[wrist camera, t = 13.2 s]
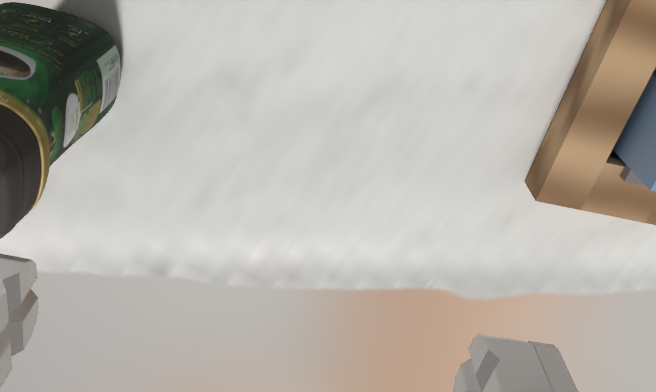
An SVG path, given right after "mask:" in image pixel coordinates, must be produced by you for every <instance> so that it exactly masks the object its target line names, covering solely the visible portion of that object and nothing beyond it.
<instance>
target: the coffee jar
mask: <svg viewBox="0 0 656 392" xmlns="http://www.w3.org/2000/svg"><path fill="white" fill-rule="evenodd" d="M120 76H121V61H120V54H119V51H118V48H117V46H116V44H115V42H114V41H113V39H112V38H111V37H110V36H109V35H108V34H107V33H106V32H105V31H104V30H103V29H101V28H100V27H98V26H96V25H94V24H92V23H90V22H87V21H85V20H83V19H80V18H77V17H75V16H72V15H69V14H66V13H63V12H59V11H56V10H52V9H49V8H45V7H41V6H36V5H30V4H25V3H16V2H10V3H3V4H0V239H1V238H2V237H4V236H5V235H6V234H7V233H9V232H10V231H11V230H12V229H13V228H14V227H15V225H16V224H17V223H18V222H19V221H20V220H21V219H22V218H23V217H24V216H25V215H27V214H28V213H29V212H30V211H31V210H32V209H33V208H34V207H35V206H36V204H37V203H38V201H39V199H40V197H41V195H42V193H43V190H44V188H45V184H46V181H47V177H48V173H49V167H50V166H51V165H52V163H53V162H54V161H56V160H57V159H58V158H59V157H60V156H61V155H62V154H63V153H64V152H65V151H66V150H67V149H68V148H69V147H70V146H71V145H72V144H74V143H75V142H76V141H77V140H78V139H79V138H80V137H82V136H83V135H84V134H85V133H86V132H88V131H89V130H90V129H91V128H92V127H94V126H95V125H96V124H97V123H98V122H99V121H100V120H101V119H102V118H103V117H104V116H105V115H106V114H107V113H108V111H109V110H110V109H111V108H112V106H113V104H114V102H115V99H116V96H117V92H118V89H119V84H120Z"/></svg>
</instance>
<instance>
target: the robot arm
mask: <svg viewBox="0 0 656 392" xmlns="http://www.w3.org/2000/svg"><path fill="white" fill-rule="evenodd" d="M36 279H37V269H36V263H35V262H34V261H33V260H30V259H25V258H20V257H15V256H9V255H4V254H0V388H1V387H2V385H3V383H4V382H5V380H6V378H7V377H8V375H9V373H10V372H11V370H12V362H11V356H13V355H15V354H17V353H18V352H20V351H22V350H24V348H25V346H26V345H27V343H28V341H29V339H30V338H31V335H32V332H33V329H34V327H35V324H36V320H37V313H38V297H37V296H36V295H35V293H34V292H33V291H32V290H31V287H32V285H33V284H34V282H35V281H36ZM469 352H470V355H471V359H469V360H468V361H466V362H465V363H463V364H461V366H460V368H459V370H458V373H457V375H456V377H455V384H454V390H453V392H578V390H577V388H576V386H575V384H574V382H573V379H572V377H571V375H570V373H569V371H568V369H567V367H566V364H565V362H564V360H563V358H562V356H561V354H560V352H559V350H558V349H557V348H556V347H555V346H554V345H551V344H544V343H537V342H531V341H528V342H526V341H521V340H515V339H508V338H502V337H496V336H489V335H483V334H478V335H476V336H475V337H474V338H473V340H472V342H471V344H470V346H469Z"/></svg>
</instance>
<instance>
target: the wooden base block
mask: <svg viewBox="0 0 656 392" xmlns="http://www.w3.org/2000/svg"><path fill="white" fill-rule="evenodd" d="M655 67H656V0H607V2H606V4H605V6H604V8H603V10H602V13H601V15H600V17H599V19H598V21H597V24H596V26H595V28H594V30H593V32H592V35H591V37H590V39H589V41H588V43H587V46H586V48H585V50H584V52H583V54H582V57H581V59H580V61H579V63H578V65H577V68H576V70H575V72H574V74H573V76H572V79H571V81H570V83H569V85H568V87H567V90H566V92H565V94H564V96H563V98H562V101H561V103H560V105H559V107H558V109H557V112H556V114H555V116H554V118H553V120H552V123H551V125H550V127H549V129H548V131H547V134H546V136H545V138H544V140H543V142H542V145H541V147H540V149H539V151H538V154H537V156H536V158H535V160H534V162H533V165H532V167H531V169H530V171H529V173H528V176H527V178H526V180H525V183H526V185H527V187H528V188H529V190H530V192H531V194H532V195H533V197H534V199H535V200H536V201H539V202H544V203H549V204H554V205H559V206H564V207H569V208H574V209H579V210H584V211H589V212H594V213H599V214H604V215H609V216H614V217H619V218H624V219H629V220H634V221H639V222H644V223H649V224H654V225H656V191H651V190H650V189H649V188H648V187H647V186H644V185H639V184H634V183H629V182H624V181H623V179H622V178H621V177H620V175H621V173H622V171H623V169H624V167H625V166H626V164H625V163H624V161H623V160H622V159H621V158H620V157H619V156H618V155H617V154H616V153H615V152H614V151H613V150H612V149H613V148H614V146H615V144H616V142H617V140H618V138H619V136H620V134H621V132H622V130H623V128H624V127H625V125H626V123H627V121H628V119H629V117H630V115H631V113H632V111H633V109H634V107H635V106H636V104H637V102H638V100H639V98H640V96H641V94H642V92H643V90H644V88H645V87H646V85H647V83H648V81H649V79H650V77H651V75H652V73H653V71H654V69H655Z"/></svg>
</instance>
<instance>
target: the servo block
mask: <svg viewBox="0 0 656 392" xmlns="http://www.w3.org/2000/svg"><path fill="white" fill-rule="evenodd" d="M612 150H613V151H614V152H615V153H616V154H617V155H618V156H619V157H620V158H621V159H622V160H623V161H624V163H625V164H626V166H625V167H624V169H623V171H622V173H621V175H620V177H621V178H622V179H623V181H624V182H629V183H634V184H639V185H644V186H647V187H648V188H649V189H650V190H651V191H656V70H654V71H653V73H652V75H651V77H650V79H649V81H648V83H647V85H646V87H645V88H644V90H643V92H642V94H641V96H640V98H639V100H638V102H637V104H636V106H635V107H634V109H633V111H632V113H631V115H630V117H629V119H628V121H627V123H626V125H625V127H624V128H623V130H622V132H621V134H620V136H619V138H618V140H617V142H616V144H615V146H614V148H613V149H612Z"/></svg>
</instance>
